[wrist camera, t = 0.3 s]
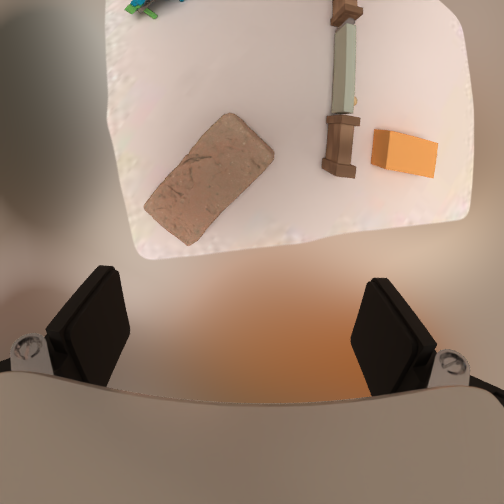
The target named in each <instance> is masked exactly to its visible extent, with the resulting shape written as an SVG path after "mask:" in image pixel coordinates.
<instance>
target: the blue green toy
mask: <svg viewBox="0 0 504 504" xmlns="http://www.w3.org/2000/svg"><path fill="white" fill-rule="evenodd" d="M154 1H155V0H148V1H147V2H145V0H132V1H131V3H130V4H129V5H128V6H127V7H126V8H125V10H126V11H127V12H129V13H130V14H133V13H134V12H135V11H138V12H139V13H141V12H145V13H146V14H148V15H149V16H150V17H152V18H153V19H155V18H156V17H157V16H158V15H156V14H155V13H154V12H152V11H151V10H150V9H148V8H147V7H148V6H149V5H150V4H151V3H153V2H154ZM180 1H183V0H180ZM132 5H133V6H132Z"/></svg>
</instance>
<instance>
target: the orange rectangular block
mask: <svg viewBox="0 0 504 504" xmlns="http://www.w3.org/2000/svg"><path fill="white" fill-rule="evenodd" d="M437 149H438V143H435V142H432V141H428V140H425V139H421V138H418V137H414V136H410V135H406V134H402V133H398V132H394V131H388V130H377V129H374V139H373V148H372V157H371V164H373V165H376V166H379V167H381V168H384V169H388V170H394V171H399V172H405V173H410V174H415V175H420V176H425V177H429V178H434V171H435V165H436V157H437Z"/></svg>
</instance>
